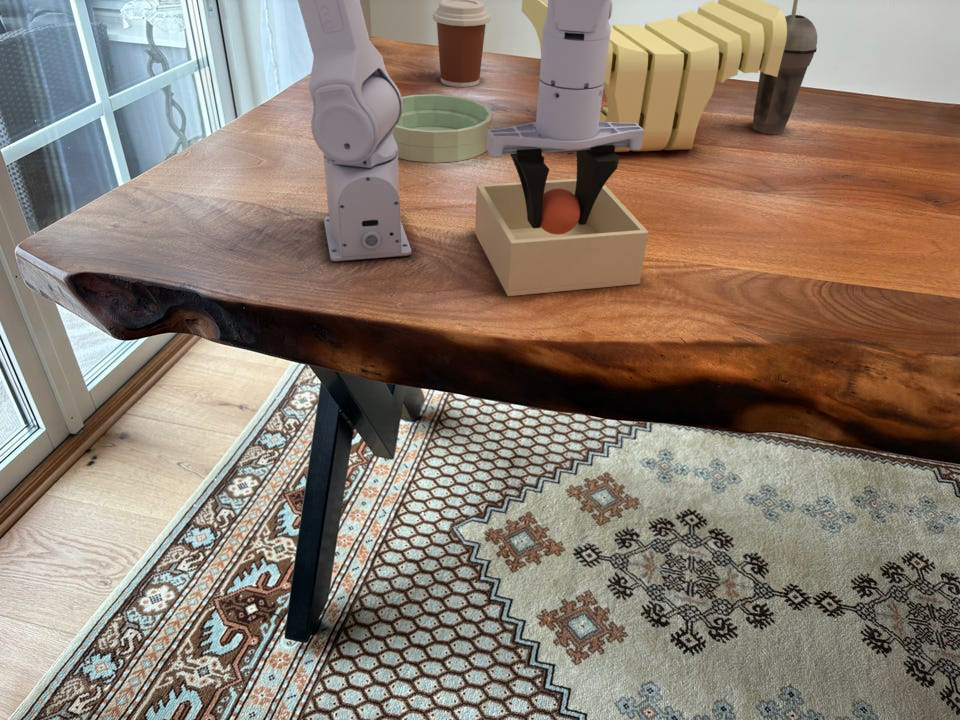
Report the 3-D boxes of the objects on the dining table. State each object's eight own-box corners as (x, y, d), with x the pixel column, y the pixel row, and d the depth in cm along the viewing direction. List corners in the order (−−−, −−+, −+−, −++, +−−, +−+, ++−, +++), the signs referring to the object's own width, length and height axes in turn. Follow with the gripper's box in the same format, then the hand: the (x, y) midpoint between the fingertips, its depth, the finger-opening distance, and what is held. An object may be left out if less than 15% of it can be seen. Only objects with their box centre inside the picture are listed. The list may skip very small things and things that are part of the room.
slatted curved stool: (543, 163, 98) (556, 14, 88) (514, 122, 111) (522, -13, 101) (757, 155, 104) (793, 13, 94) (706, 116, 117) (733, -12, 106)
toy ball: (584, 240, 75) (589, 198, 72) (541, 243, 74) (544, 201, 71) (569, 221, 78) (573, 180, 76) (528, 224, 77) (531, 182, 75)
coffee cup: (421, 80, 127) (420, 1, 120) (457, 70, 132) (459, -6, 125) (462, 92, 122) (464, 11, 115) (498, 81, 128) (502, 3, 121)
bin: (639, 284, 74) (649, 232, 71) (507, 296, 71) (511, 242, 68) (591, 224, 84) (598, 177, 81) (474, 233, 81) (476, 184, 78)
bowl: (503, 163, 98) (505, 129, 95) (384, 170, 95) (383, 134, 92) (475, 124, 110) (476, 92, 107) (369, 129, 107) (368, 96, 104)
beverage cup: (804, 135, 111) (848, -17, 100) (764, 139, 109) (803, -15, 97) (771, 119, 117) (809, -27, 105) (732, 123, 115) (766, -25, 103)
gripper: (630, 65, 72) (611, 200, 80) (480, 70, 69) (475, 209, 77) (662, 87, 67) (637, 230, 75) (500, 93, 64) (493, 241, 71)
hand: (557, 222), depth 75 cm, fingers closed on toy ball, 4 cm apart
